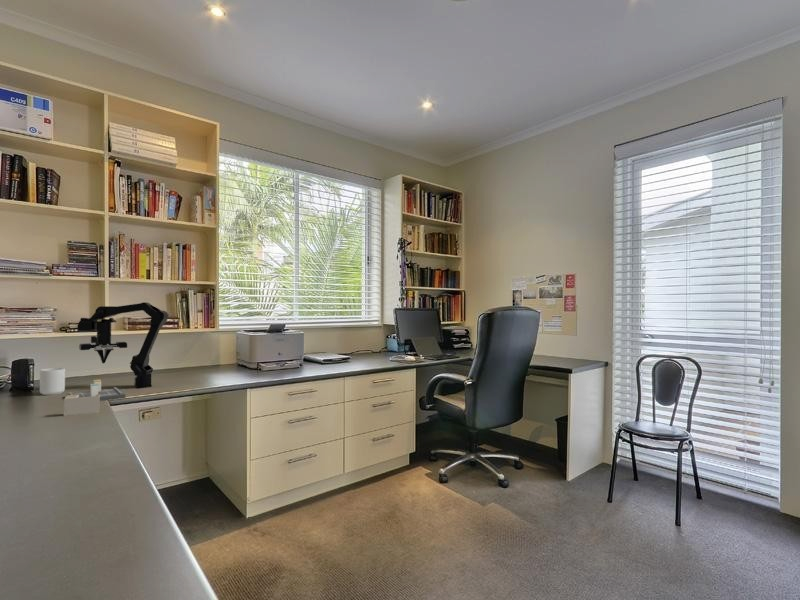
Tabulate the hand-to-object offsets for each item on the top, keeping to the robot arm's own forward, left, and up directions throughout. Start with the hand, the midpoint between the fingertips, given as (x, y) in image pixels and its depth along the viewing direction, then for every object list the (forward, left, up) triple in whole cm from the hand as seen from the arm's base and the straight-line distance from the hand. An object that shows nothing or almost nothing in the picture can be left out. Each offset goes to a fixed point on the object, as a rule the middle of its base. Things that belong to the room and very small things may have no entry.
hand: (103, 363), depth 203 cm
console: (+6, +23, -12) cm, 27 cm away
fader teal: (+7, +28, -10) cm, 31 cm away
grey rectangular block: (+5, +19, -10) cm, 21 cm away
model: (+13, +52, -13) cm, 55 cm away
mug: (+19, -1, -12) cm, 22 cm away
